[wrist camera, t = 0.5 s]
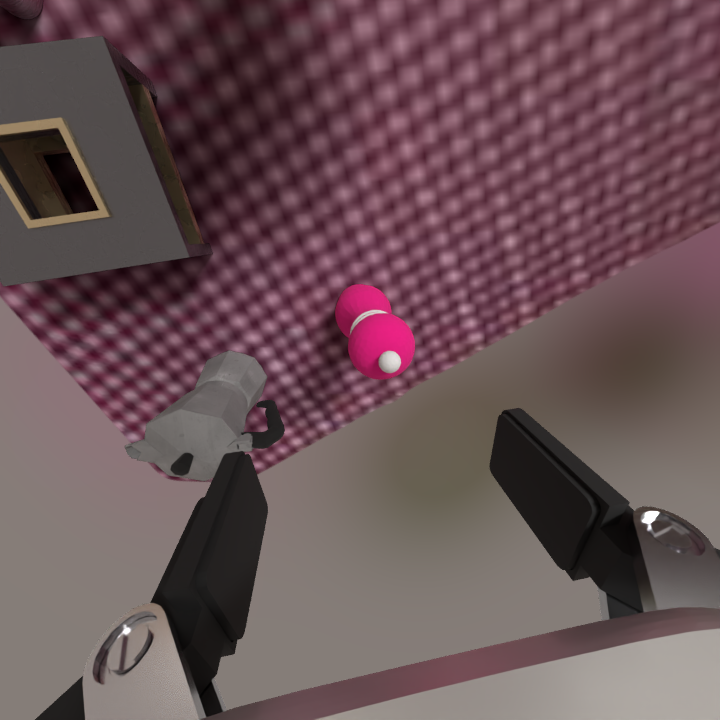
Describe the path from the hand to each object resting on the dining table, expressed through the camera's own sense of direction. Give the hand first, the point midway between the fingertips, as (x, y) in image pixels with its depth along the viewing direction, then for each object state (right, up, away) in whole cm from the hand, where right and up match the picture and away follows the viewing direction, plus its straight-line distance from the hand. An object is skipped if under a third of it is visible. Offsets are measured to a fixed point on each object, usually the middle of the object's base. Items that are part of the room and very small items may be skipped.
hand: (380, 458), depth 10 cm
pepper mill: (-1, +12, +28) cm, 31 cm away
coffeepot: (-19, +1, +31) cm, 36 cm away
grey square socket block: (-29, +22, +19) cm, 41 cm away
